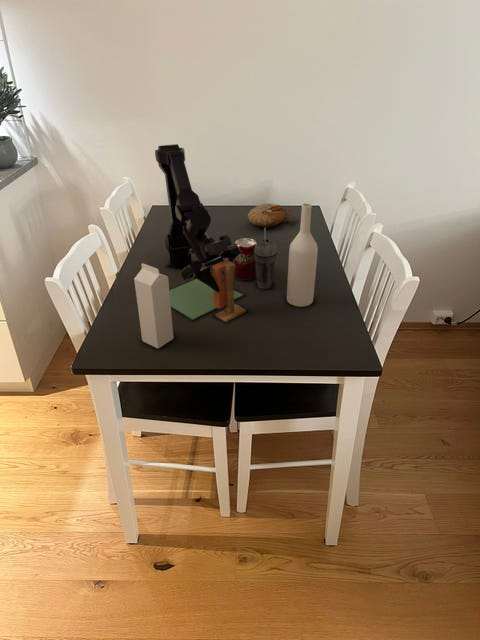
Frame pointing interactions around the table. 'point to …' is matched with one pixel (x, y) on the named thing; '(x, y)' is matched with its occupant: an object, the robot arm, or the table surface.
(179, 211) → the robot arm
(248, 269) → the soda can
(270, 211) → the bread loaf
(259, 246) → the beverage cup
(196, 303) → the mat
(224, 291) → the orange window block
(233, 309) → the hook stand
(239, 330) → the table surface
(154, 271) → the milk
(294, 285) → the bottle
